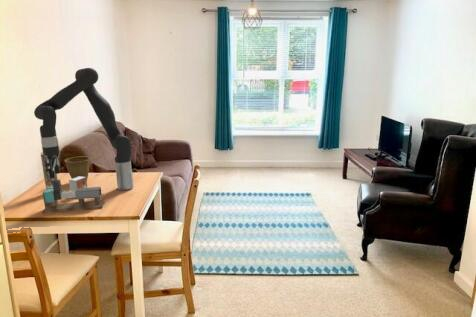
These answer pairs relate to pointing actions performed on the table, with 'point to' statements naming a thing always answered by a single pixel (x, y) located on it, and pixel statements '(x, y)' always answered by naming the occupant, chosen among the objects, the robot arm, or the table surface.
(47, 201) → the socket
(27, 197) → the table surface
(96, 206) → the rig base
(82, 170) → the plant pot
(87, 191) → the sleeve
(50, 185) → the paper tube
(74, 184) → the small box
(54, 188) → the grey block with post
